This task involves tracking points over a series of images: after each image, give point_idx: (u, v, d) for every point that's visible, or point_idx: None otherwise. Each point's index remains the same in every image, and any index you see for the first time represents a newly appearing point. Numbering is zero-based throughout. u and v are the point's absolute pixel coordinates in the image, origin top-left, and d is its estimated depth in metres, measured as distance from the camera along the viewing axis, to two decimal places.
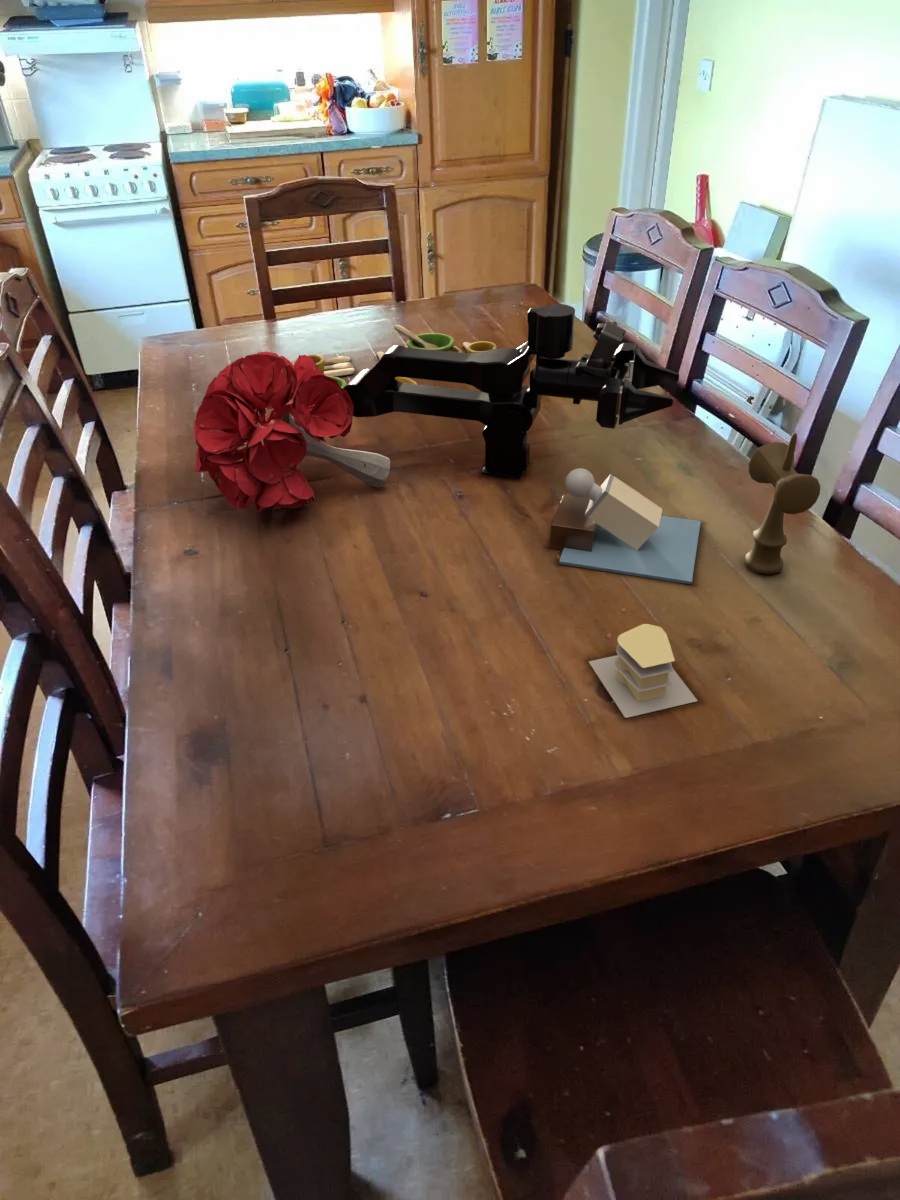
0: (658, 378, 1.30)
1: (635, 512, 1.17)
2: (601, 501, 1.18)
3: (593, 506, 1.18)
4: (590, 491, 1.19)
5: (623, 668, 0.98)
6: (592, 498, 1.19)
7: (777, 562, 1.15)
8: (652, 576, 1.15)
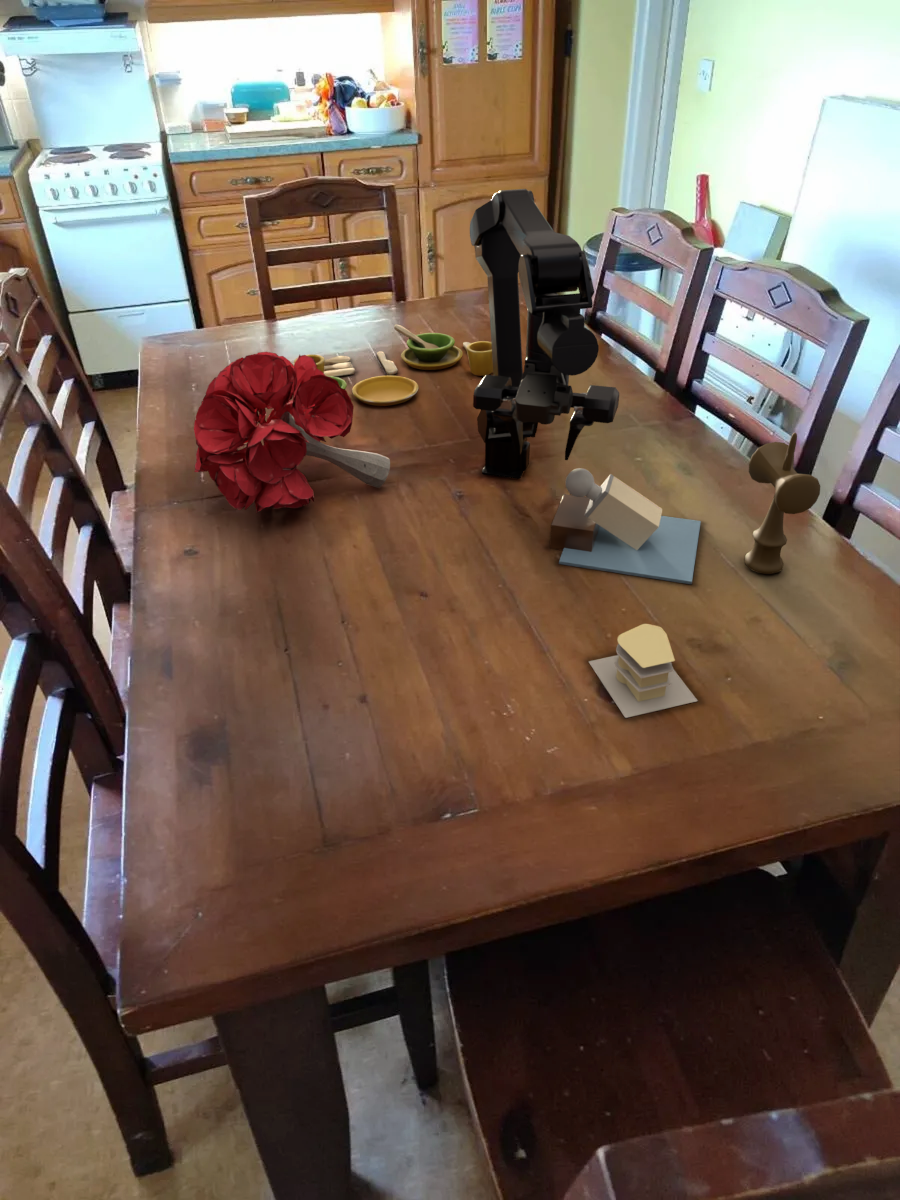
0: None
1: (635, 512, 1.17)
2: (601, 501, 1.18)
3: (593, 506, 1.18)
4: (590, 491, 1.19)
5: (623, 668, 0.98)
6: (592, 498, 1.19)
7: (777, 562, 1.15)
8: (652, 576, 1.15)
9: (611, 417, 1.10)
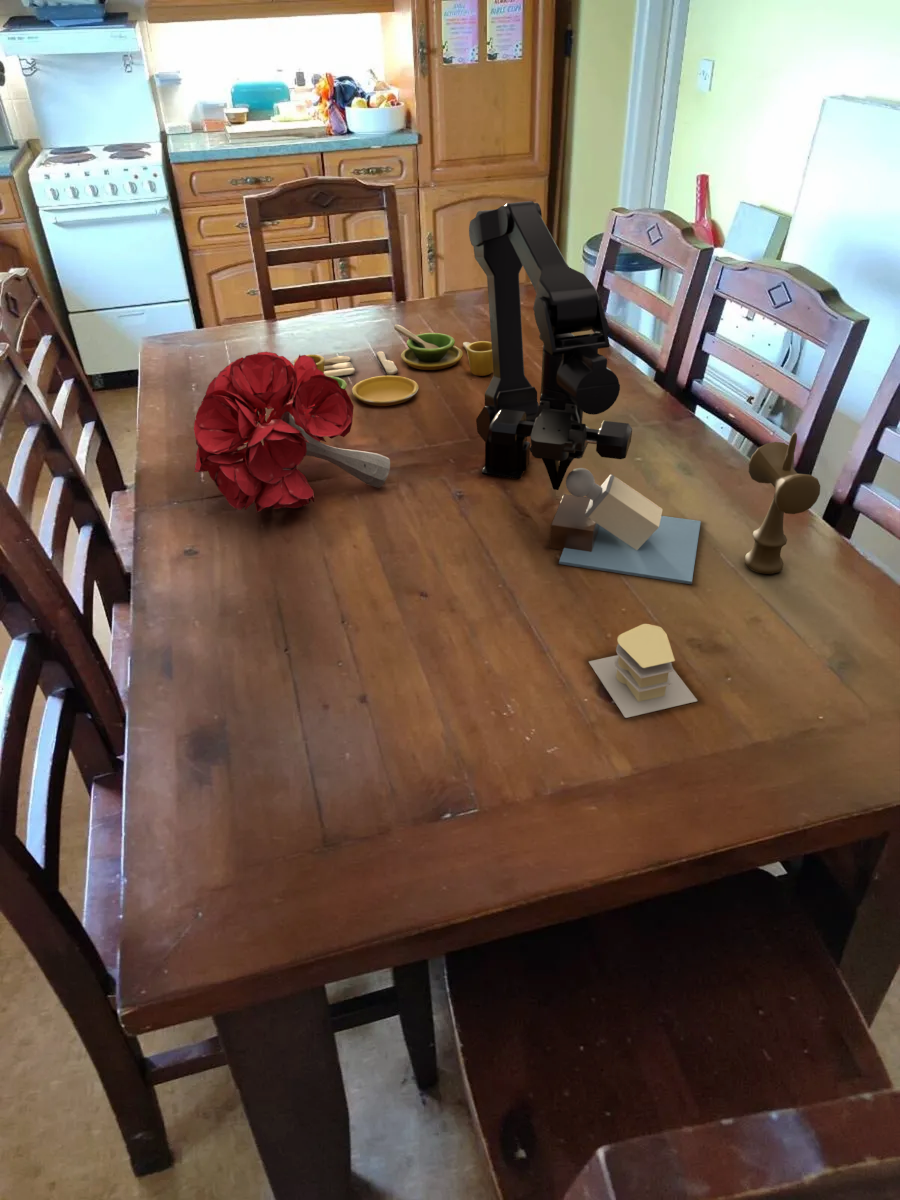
0: None
1: (635, 512, 1.17)
2: (601, 501, 1.18)
3: (594, 506, 1.18)
4: (590, 491, 1.19)
5: (623, 668, 0.98)
6: (592, 498, 1.19)
7: (777, 562, 1.15)
8: (652, 576, 1.15)
9: (624, 453, 1.12)
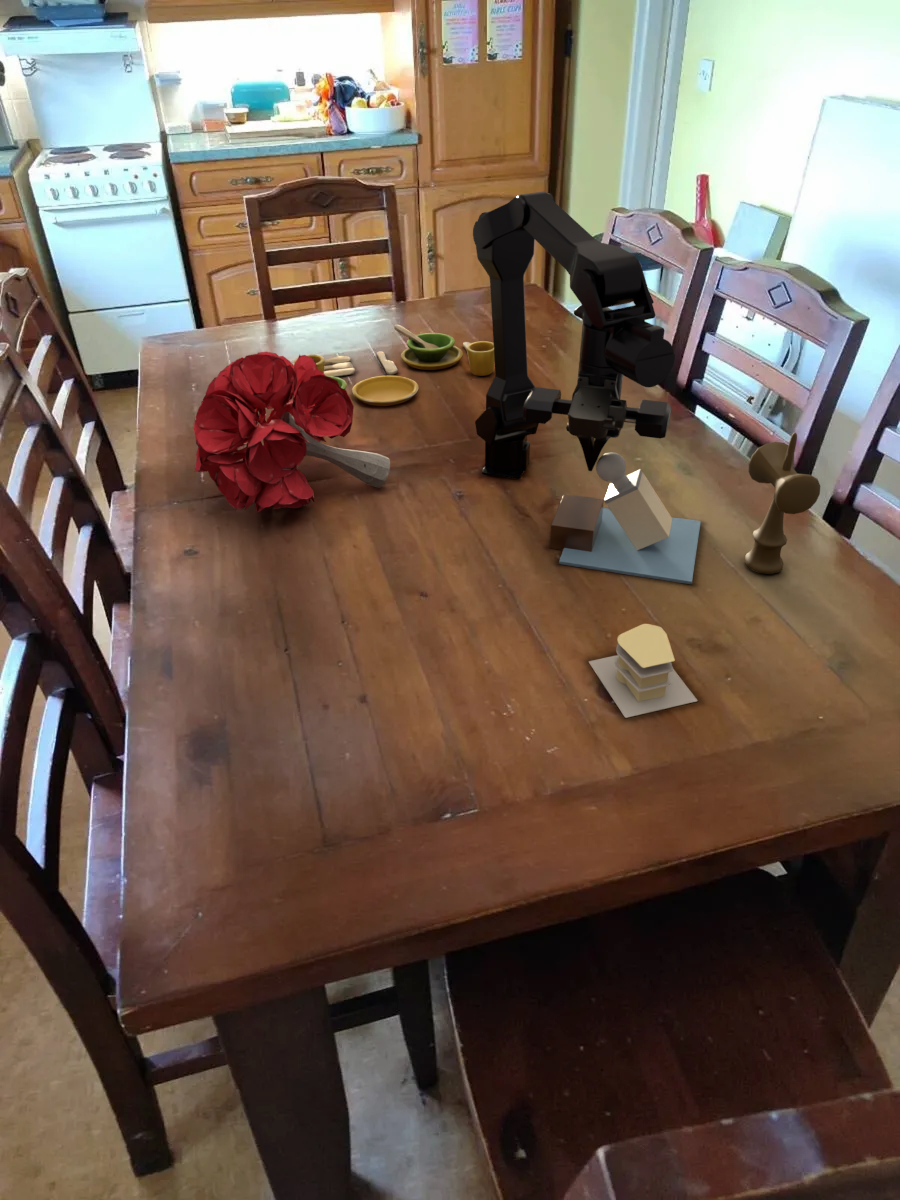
0: None
1: (654, 516, 1.16)
2: (626, 494, 1.16)
3: (617, 496, 1.16)
4: (618, 479, 1.16)
5: (623, 668, 0.98)
6: (617, 487, 1.17)
7: (777, 562, 1.15)
8: (652, 576, 1.15)
9: (664, 432, 1.09)
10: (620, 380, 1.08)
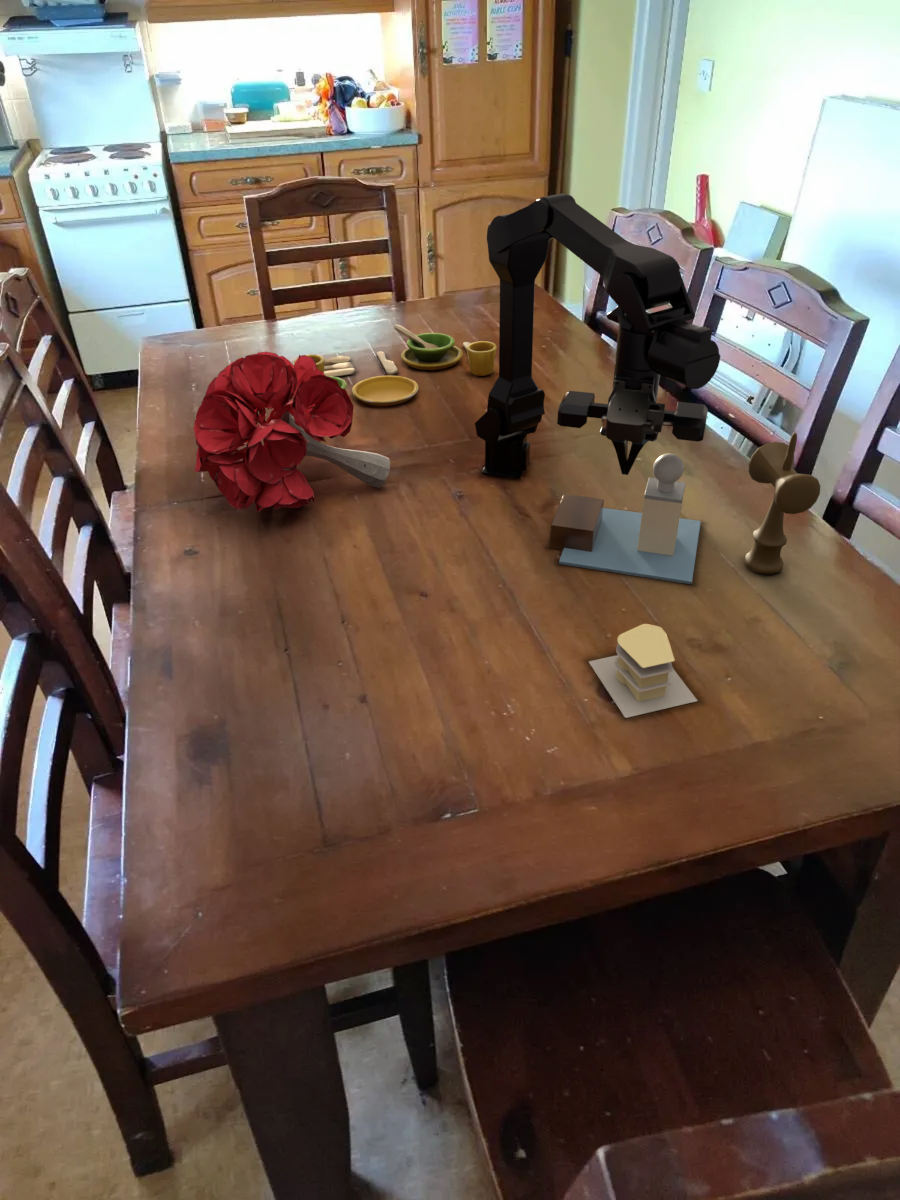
0: None
1: (675, 533, 1.17)
2: (668, 501, 1.15)
3: (659, 498, 1.15)
4: (668, 484, 1.15)
5: (623, 668, 0.98)
6: (662, 489, 1.15)
7: (777, 562, 1.15)
8: (652, 576, 1.15)
9: (702, 435, 1.07)
10: (657, 383, 1.07)
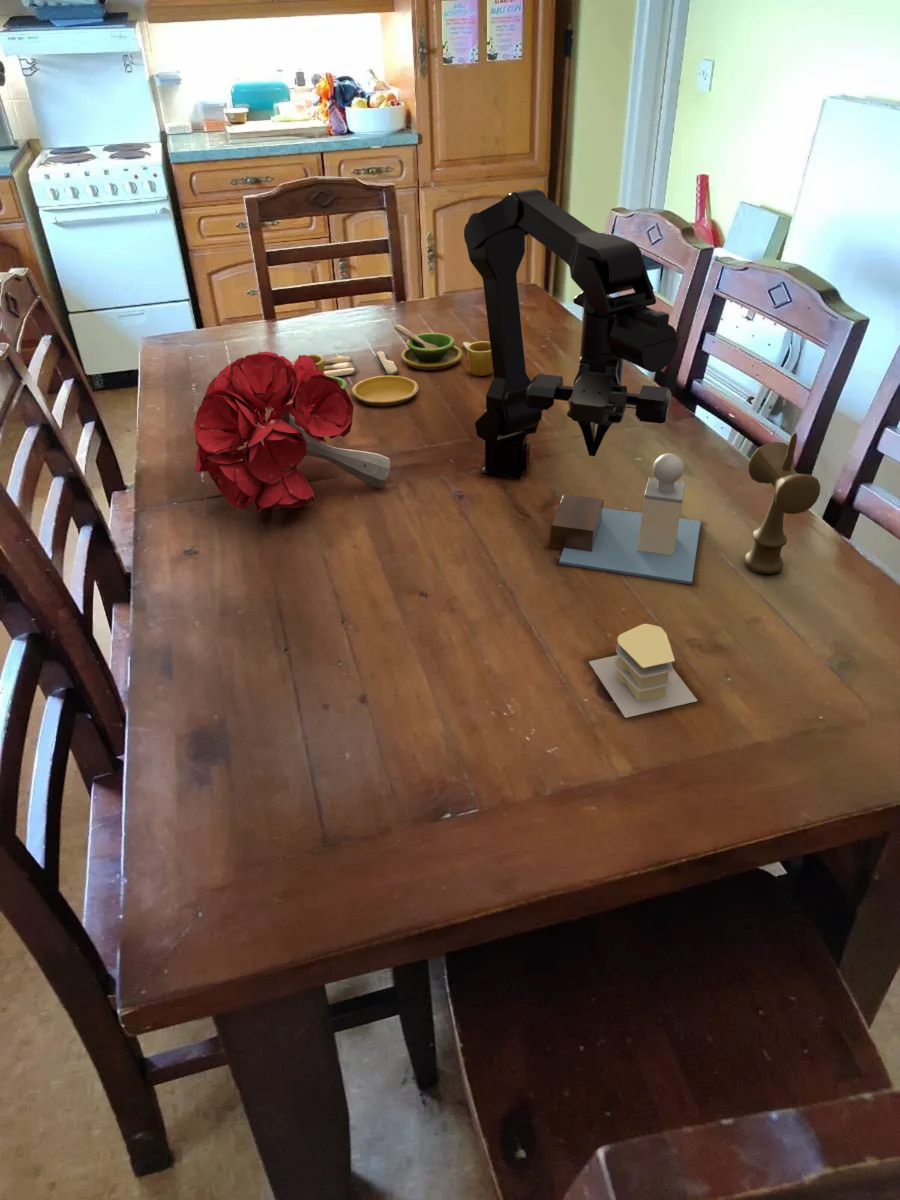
0: None
1: (675, 533, 1.17)
2: (668, 501, 1.15)
3: (659, 498, 1.15)
4: (668, 484, 1.15)
5: (623, 668, 0.98)
6: (662, 489, 1.15)
7: (777, 562, 1.15)
8: (652, 576, 1.15)
9: (664, 417, 1.11)
10: (621, 366, 1.10)
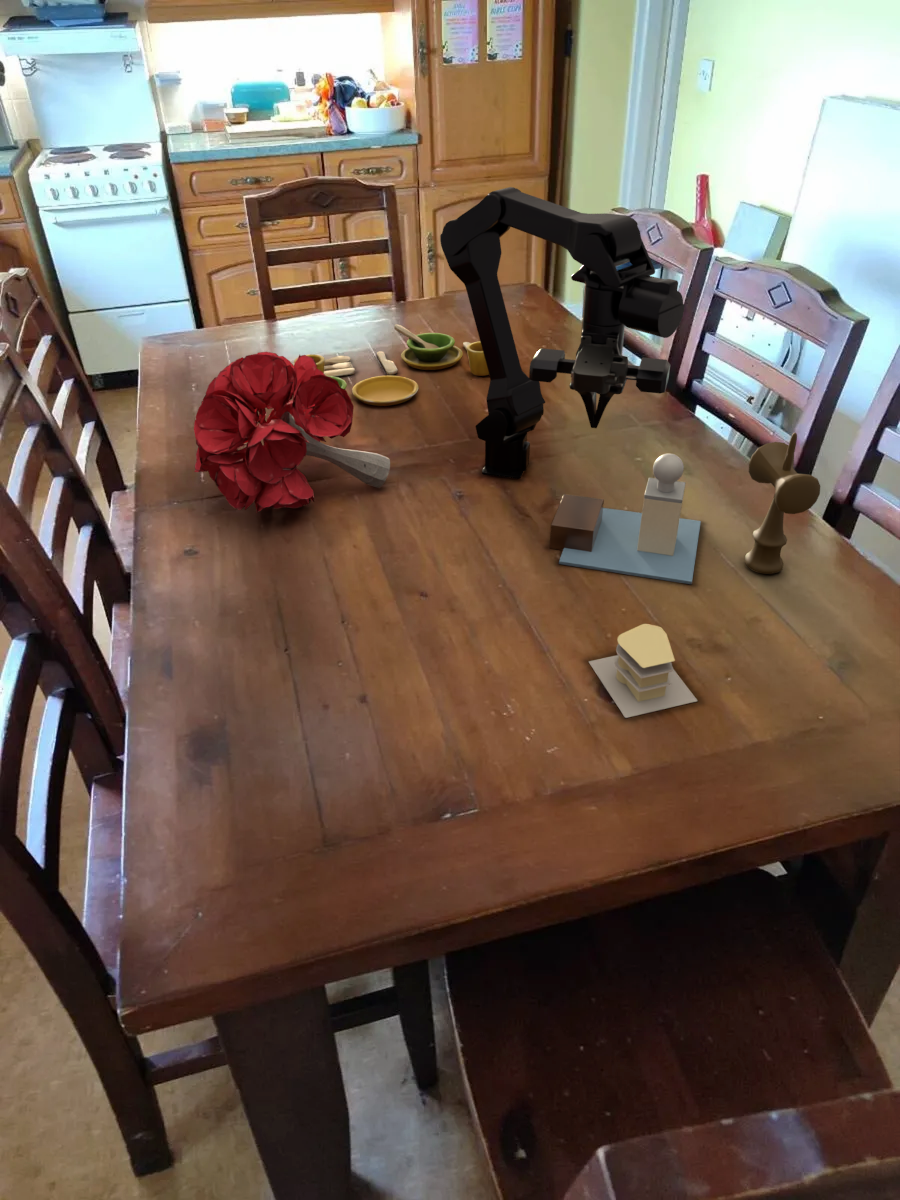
0: None
1: (675, 533, 1.17)
2: (668, 501, 1.15)
3: (659, 498, 1.15)
4: (668, 484, 1.15)
5: (623, 668, 0.98)
6: (662, 489, 1.15)
7: (777, 562, 1.15)
8: (652, 576, 1.15)
9: (663, 388, 1.15)
10: (621, 338, 1.14)
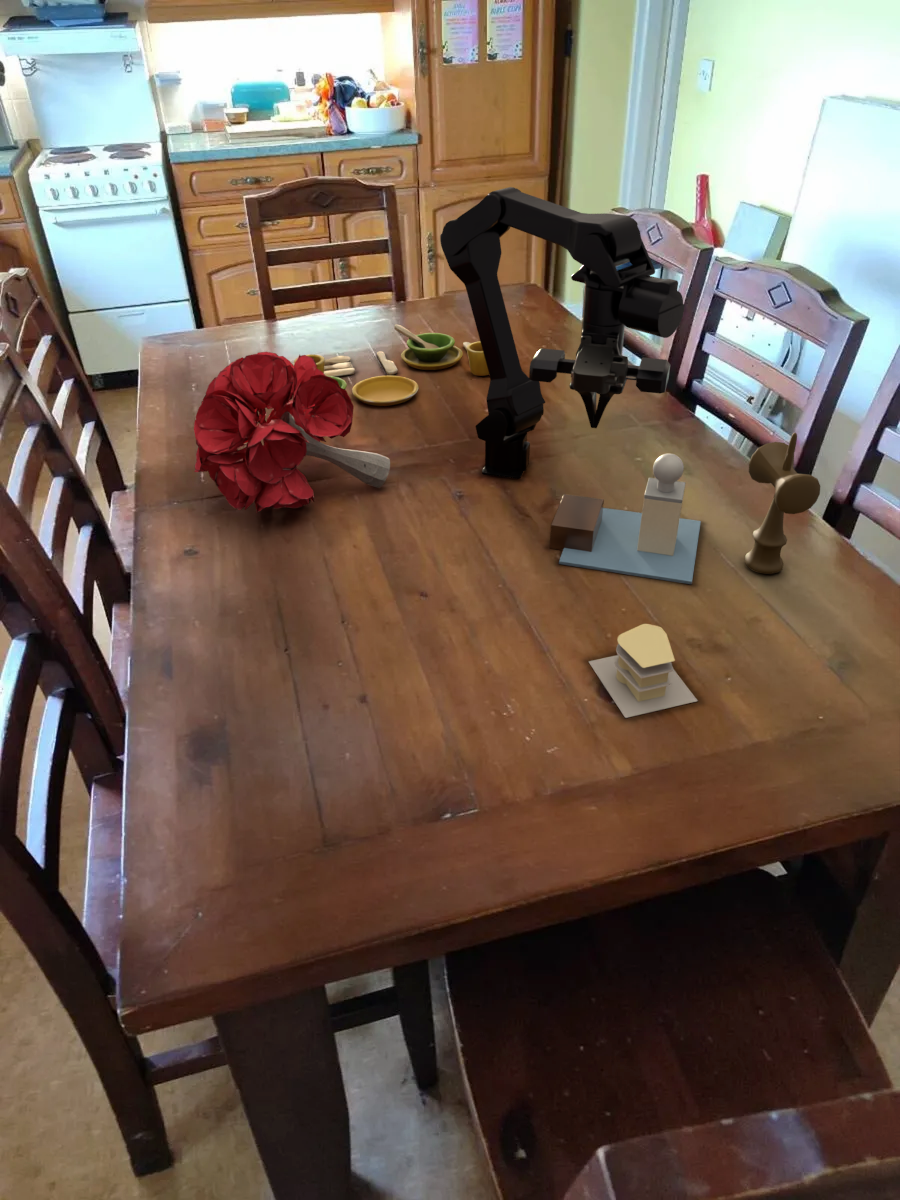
0: None
1: (675, 533, 1.17)
2: (668, 501, 1.15)
3: (659, 498, 1.15)
4: (668, 484, 1.15)
5: (623, 668, 0.98)
6: (662, 489, 1.15)
7: (777, 562, 1.15)
8: (652, 576, 1.15)
9: (663, 388, 1.15)
10: (621, 338, 1.14)
